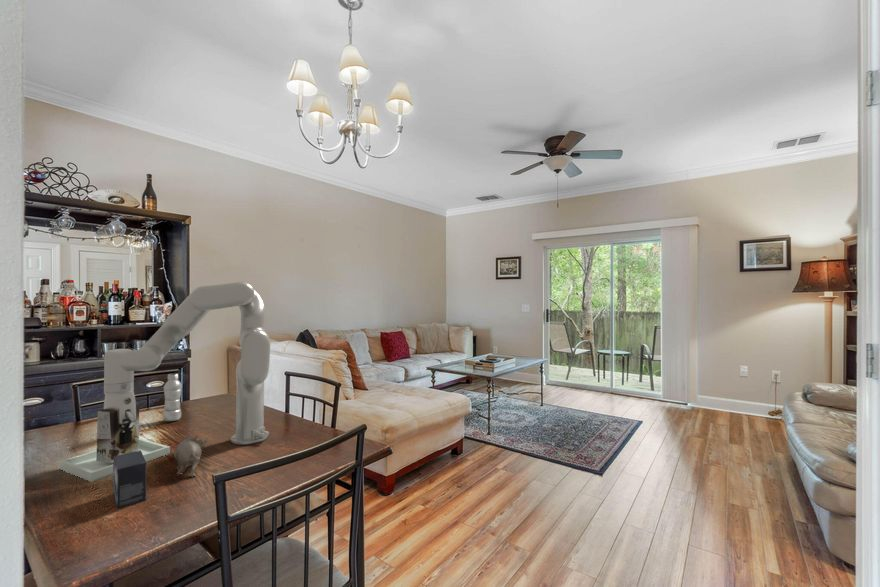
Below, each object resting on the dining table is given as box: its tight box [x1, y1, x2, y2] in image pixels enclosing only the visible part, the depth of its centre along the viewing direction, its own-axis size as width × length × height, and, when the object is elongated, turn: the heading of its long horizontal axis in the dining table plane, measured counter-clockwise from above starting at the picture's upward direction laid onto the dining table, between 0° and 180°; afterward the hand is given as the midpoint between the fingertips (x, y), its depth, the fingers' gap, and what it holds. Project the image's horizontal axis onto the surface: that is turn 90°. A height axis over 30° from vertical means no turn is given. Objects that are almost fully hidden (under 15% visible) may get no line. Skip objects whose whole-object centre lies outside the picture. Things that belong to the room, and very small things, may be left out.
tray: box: [58, 437, 171, 483], centre depth 127 cm, size 18×22×3 cm
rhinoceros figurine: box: [173, 434, 209, 478], centre depth 123 cm, size 8×14×15 cm
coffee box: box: [96, 403, 140, 463], centre depth 127 cm, size 9×6×16 cm
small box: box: [112, 450, 147, 509], centre depth 106 cm, size 11×6×10 cm, turn 45°
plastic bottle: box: [162, 373, 183, 422], centre depth 168 cm, size 6×7×20 cm
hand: (118, 441), depth 127 cm, fingers closed on coffee box, 7 cm apart
